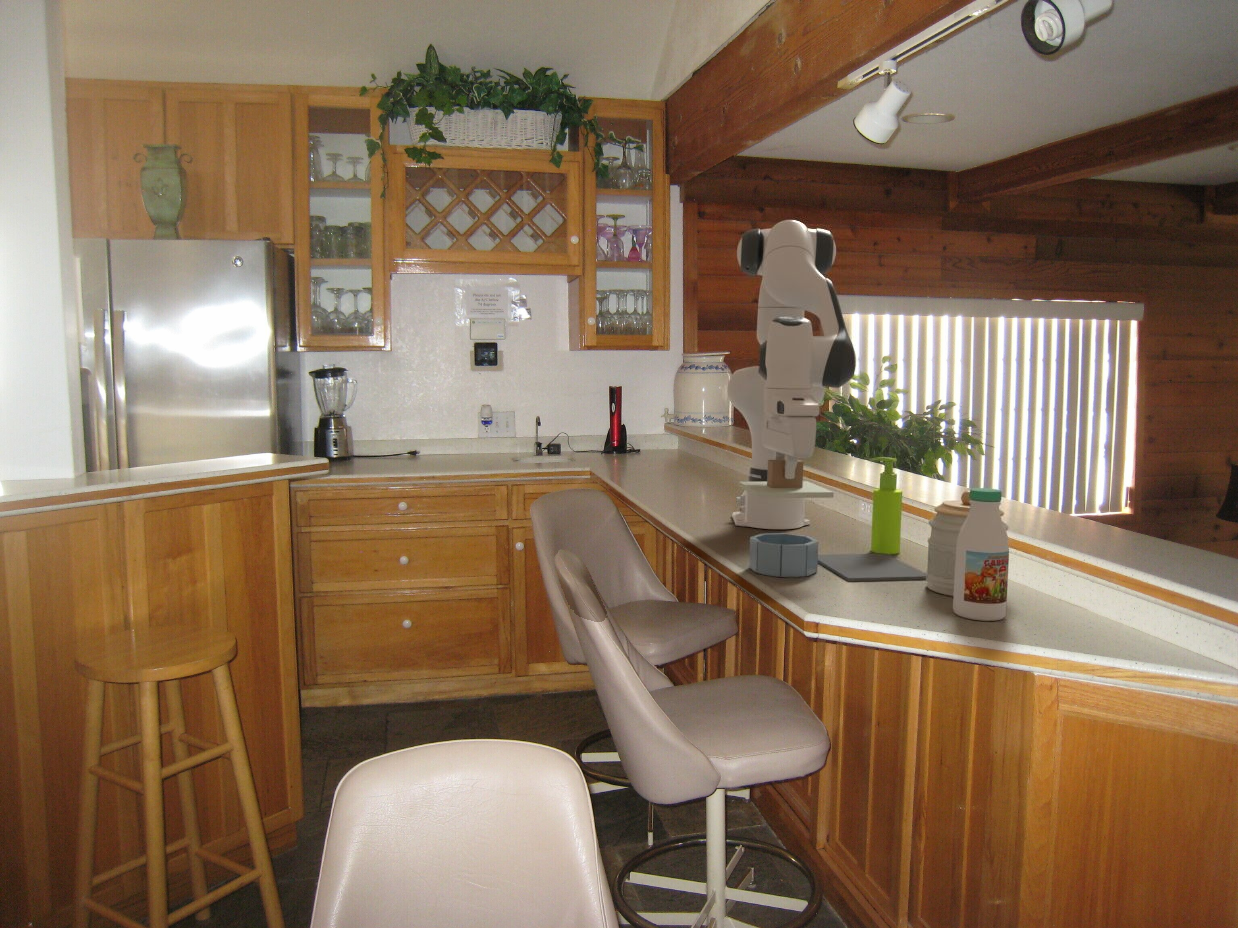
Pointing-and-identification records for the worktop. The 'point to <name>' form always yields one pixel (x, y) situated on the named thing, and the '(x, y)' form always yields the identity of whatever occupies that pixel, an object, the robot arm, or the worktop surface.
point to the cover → (785, 484)
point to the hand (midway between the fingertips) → (784, 476)
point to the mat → (869, 567)
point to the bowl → (783, 555)
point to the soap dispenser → (886, 511)
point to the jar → (946, 543)
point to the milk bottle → (982, 560)
